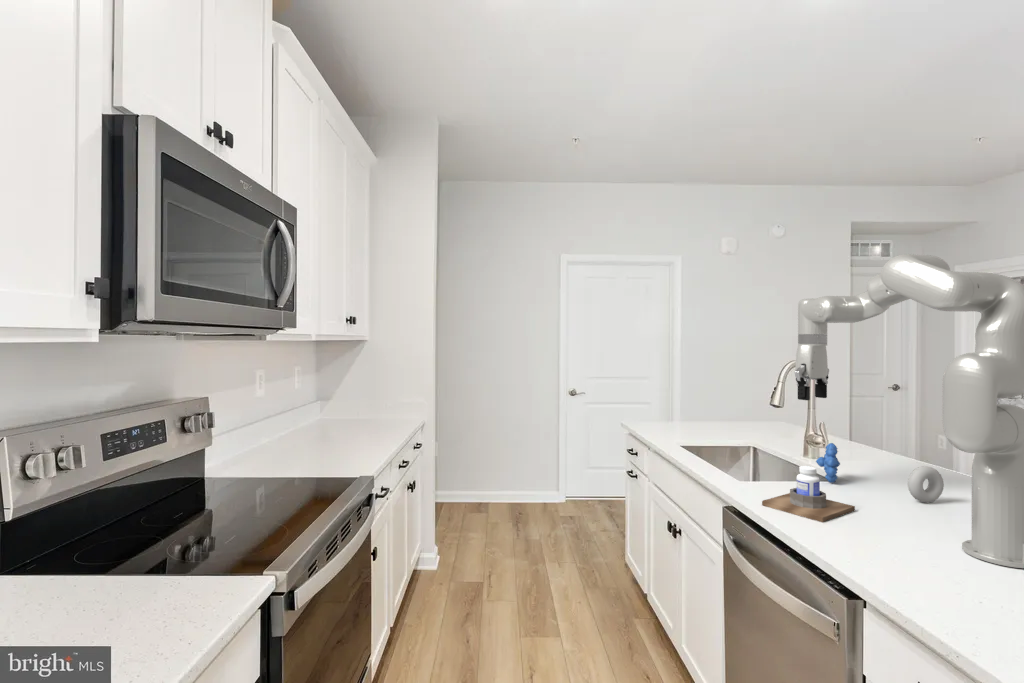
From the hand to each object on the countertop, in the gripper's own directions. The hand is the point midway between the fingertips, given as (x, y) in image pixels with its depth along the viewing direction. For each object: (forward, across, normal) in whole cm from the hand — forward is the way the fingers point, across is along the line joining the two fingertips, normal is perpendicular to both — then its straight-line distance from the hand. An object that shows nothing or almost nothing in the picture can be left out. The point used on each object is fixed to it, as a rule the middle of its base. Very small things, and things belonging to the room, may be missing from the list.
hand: (812, 398), depth 156 cm
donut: (+28, -16, +22) cm, 39 cm away
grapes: (+28, -17, -4) cm, 33 cm away
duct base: (+28, +16, +7) cm, 32 cm away
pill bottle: (+27, +16, +7) cm, 32 cm away
